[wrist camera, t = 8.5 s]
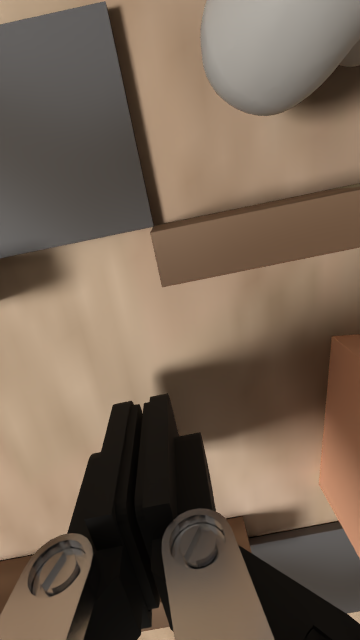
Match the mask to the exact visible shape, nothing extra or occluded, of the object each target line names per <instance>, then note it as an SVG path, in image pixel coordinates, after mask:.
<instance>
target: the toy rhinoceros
mask: <svg viewBox="0 0 360 640" xmlns="http://www.w3.org/2000/svg"><path fill="white" fill-rule="evenodd" d="M201 51H202V60H203V66H204V70H205V73H206V76H207V78H208V80H209V82H210V84H211V86H212V87H213V89H214V90H215V91H216V93H217V94H218V95H219V96H220V97H221V98H222V99H223V100H225V101H226V102H227V103H228V104H229V105H231V106H233V107H235V108H236V109H238V110H241V111H243V112H245V113H249V114H253V115H258V116H269V115H275V114H279V113H281V112H284V111H286V110H288V109H290V108H292V107H294V106H296V105H297V104H298V103H300V102H301V101H303V100H304V99H306V98H307V97H308V96H309V95H310V94H312V93H313V92H314V91H315V90H316V89H317V88H318V87H320V86H321V85H322V83H323V82H324V81H325V80H326V79H327V78H328V77H329V76H330V75H331V74H332V72H333V71H334V70H335V69H336V68H337V66H338V65H341V66H345V67H354V66H359V65H360V0H207V1H206V5H205V8H204V12H203V17H202V23H201Z"/></svg>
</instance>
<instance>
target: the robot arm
mask: <svg viewBox="0 0 360 640" xmlns="http://www.w3.org/2000/svg"><path fill="white" fill-rule="evenodd" d="M160 598H161V601H162V604H163V608H164V611H165V614H166V617H167V620H168V623H169V626H170V629H171V630H172V631H173V632H174V637H175V640H360V624H359V623H358V622H357V621H355V620H354V619H353V618H352V617H350V616H349V615H348V614H346V613H345V612H343V611H342V610H340V609H339V608H337V607H335V606H334V605H332V604H331V603H329V602H328V601H326V600H324V599H323V598H321V597H320V596H318V595H317V594H315V593H313V592H312V591H310V590H309V589H307V588H305V587H304V586H302V585H301V584H299V583H298V582H296V581H294V580H293V579H291V578H290V577H288V576H287V575H285V574H283V573H282V572H280V571H279V570H277V569H276V568H274V567H272V566H271V565H269V564H268V563H266V562H265V561H263V560H261V559H260V558H258V557H257V556H255V555H254V554H252V553H250V552H249V551H247V550H246V549H244V548H243V547H241V546H239V545H238V544H237V541H236V538H235V536H234V533H233V531H232V528H231V526H230V525H229V523H228V521H227V520H226V519H225V518H224V517H223V516H222V515H221V514H219V513H218V512H216V509H215V503H214V497H213V491H212V485H211V480H210V474H209V469H208V464H207V459H206V454H205V450H204V445H203V441H202V436H201V433H200V432H199V433H194V434H189V435H184V436H179V434H178V430H177V426H176V422H175V418H174V414H173V410H172V406H171V402H170V398H169V395H168V394H163V395H158V396H153V397H150V402H148V403H144V407H143V413H142V410H141V407H140V405H139V404H138V405H134V404H133V402H132V401H128V402H123V403H118V404H114V405H113V407H112V411H111V415H110V419H109V423H108V427H107V431H106V435H105V439H104V443H103V446H102V450H101V452H99V453H94V454H92V455H91V456H90V458H89V461H88V464H87V468H86V471H85V475H84V478H83V482H82V485H81V488H80V492H79V495H78V499H77V502H76V506H75V509H74V512H73V516H72V519H71V523H70V526H69V530H68V533H67V534H64V535H61V536H58V537H56V538H54V539H52V540H50V541H49V542H47V543H46V544H45V545H43V546H42V547H41V548H40V549H39V550H38V551H37V552H36V553H35V554H34V555H33V556H32V557H31V559H30V560H29V562H28V563H27V565H26V566H25V568H24V570H23V572H22V574H21V576H20V578H19V580H18V581H17V583H16V585H15V587H14V589H13V591H12V593H11V595H10V597H9V599H8V601H7V603H6V605H5V607H4V609H3V611H2V613H1V615H0V640H137V639H138V638H139V636H140V635H141V629H144V628H150V627H152V609H155V608H159V605H160Z"/></svg>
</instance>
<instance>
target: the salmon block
mask: <svg viewBox="0 0 360 640" xmlns="http://www.w3.org/2000/svg"><path fill="white" fill-rule="evenodd" d="M319 485H320V487H321V489H322V491H323V493H324V495H325V496H326V498H327V500H328V502H329V504H330V505H331V507H332V509H333V511H334V513H335V515H336V516H337V518H338V520H339V522H340V524H341V525H342V527H343V529H344V531H345V533H346V535H347V536H348V538H349V540H350V542H351V544H352V545H353V547H354V549H355V551H356V553H357V555H358V556H359V558H360V334H355V335H341V336H332V340H331V351H330V363H329V374H328V386H327V397H326V409H325V420H324V432H323V443H322V455H321V466H320V478H319Z"/></svg>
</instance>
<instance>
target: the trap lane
mask: <svg viewBox="0 0 360 640" xmlns="http://www.w3.org/2000/svg"><path fill="white" fill-rule="evenodd" d="M149 227H153V229H152V231H151V232H150V234H151V238H152V243H153V247H154V252H155V257H156V261H157V266H158V270H159V275H160V280H161V284H162V287H166V286H171V285H176V284H181V283H186V282H191V281H196V280H201V279H206V278H211V277H216V276H221V275H225V274H230V273H235V272H240V271H245V270H250V269H255V268H260V267H265V266H270V265H275V264H280V263H285V262H290V261H295V260H300V259H305V258H310V257H314V256H319V255H324V254H329V253H334V252H339V251H344V250H349V249H354V248H359V247H360V183H359V184H355V185H350V186H345V187H340V188H335V189H330V190H326V191H321V192H316V193H311V194H306V195H301V196H297V197H292V198H287V199H282V200H277V201H272V202H267V203H263V204H258V205H253V206H248V207H243V208H238V209H234V210H229V211H224V212H219V213H214V214H209V215H205V216H200V217H195V218H190V219H185V220H180V221H175V222H171V223H166V224H161V225H156V226H154V224H153V219H152V215H151V210H150V205H149V201H148V196H147V191H146V187H145V182H144V177H143V173H142V168H141V163H140V159H139V154H138V149H137V145H136V140H135V135H134V131H133V126H132V121H131V117H130V112H129V107H128V103H127V98H126V93H125V89H124V84H123V79H122V75H121V70H120V65H119V60H118V56H117V51H116V46H115V42H114V37H113V32H112V28H111V23H110V18H109V14H108V9H107V5H106V2H105V1H104V2H100V3H95V4H91V5H86V6H82V7H77V8H73V9H68V10H64V11H59V12H55V13H50V14H46V15H41V16H37V17H32V18H28V19H23V20H19V21H14V22H10V23H5V24H1V25H0V258H4V257H9V256H14V255H18V254H23V253H28V252H33V251H38V250H43V249H47V248H52V247H57V246H62V245H67V244H72V243H77V242H81V241H86V240H91V239H96V238H101V237H106V236H110V235H115V234H120V233H125V232H130V231H135V230H140V229H144V228H149ZM226 520H227V521H228V523H229V525H230V526H231V528H232V531H233V533H234V536H235V538H236V541H237V544H238V545H239V546H241V547H243V548H244V549H246V550H247V551H249V552H250V553H252V554H254V555H255V556H257V557H258V558H260V559H261V560H263V561H265V562H266V563H268V564H269V565H271V566H272V567H274V568H276V569H277V570H279V571H280V572H282V573H283V574H285V575H287V576H288V577H290V578H291V579H293V580H294V581H296V582H298V583H299V584H301V585H302V586H304V587H305V588H307V589H309V590H310V591H312V592H313V593H315V594H317V595H318V596H320V597H321V598H323V599H324V600H326V601H328V602H329V603H331V604H332V605H334V606H335V607H337V608H339V609H340V610H342V611H343V612H345V613H346V614H347V613H352V612H358V611H360V558H359V556H358V555H357V553H356V551H355V549H354V547H353V545H352V544H351V542H350V540H349V538H348V536H347V535H346V533H345V531H344V529H343V527H342V525H341V524H340V522H335V523H330V524H325V525H319V526H314V527H308V528H303V529H297V530H292V531H287V532H281V533H276V534H270V535H265V536H260V537H254V538H249V539H248V536H247V532H246V528H245V524H244V520H243V516H242V517H236V518H231V519H226ZM32 556H33V555H32ZM32 556H27V557H21V558H16V559H11V560H5V561H0V615H1V613H2V611H3V609H4V607H5V605H6V603H7V601H8V599H9V597H10V595H11V593H12V591H13V589H14V587H15V585H16V583H17V581H18V580H19V578H20V576H21V574H22V572H23V570H24V568H25V566H26V565H27V563H28V562H29V560H30V559H31V557H32ZM164 627H170V626H169V623H168V620H167V617H166V614H165V611H164V608H163V604H162V601H161V598H160V605H159V608H155V609H152V627H150V628H144V629H141V632H142V631H148V630H153V629H159V628H164Z"/></svg>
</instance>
